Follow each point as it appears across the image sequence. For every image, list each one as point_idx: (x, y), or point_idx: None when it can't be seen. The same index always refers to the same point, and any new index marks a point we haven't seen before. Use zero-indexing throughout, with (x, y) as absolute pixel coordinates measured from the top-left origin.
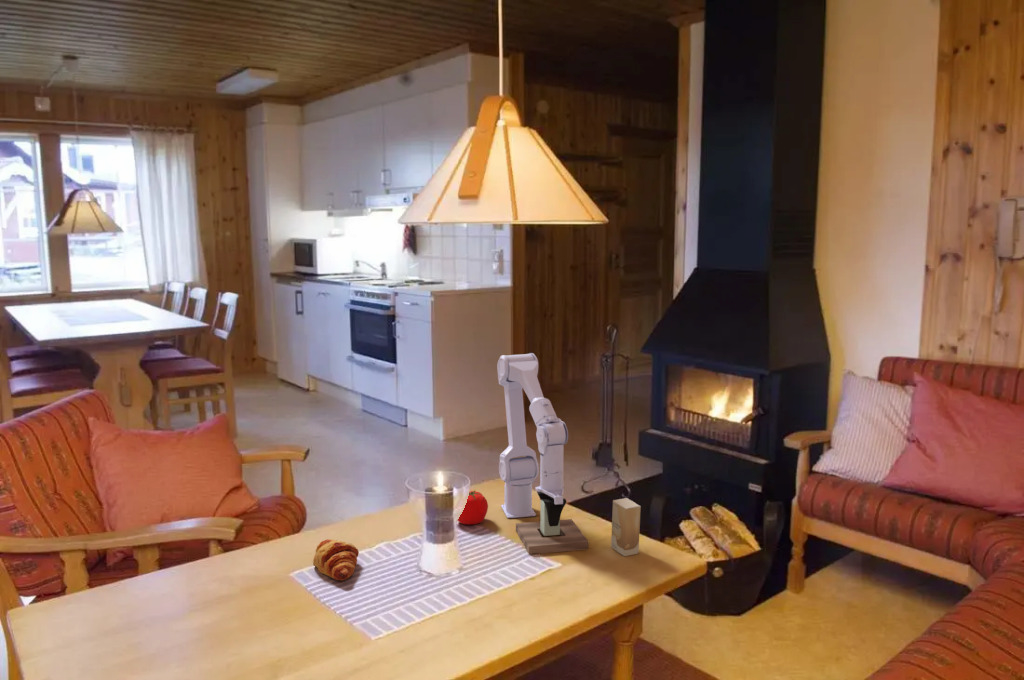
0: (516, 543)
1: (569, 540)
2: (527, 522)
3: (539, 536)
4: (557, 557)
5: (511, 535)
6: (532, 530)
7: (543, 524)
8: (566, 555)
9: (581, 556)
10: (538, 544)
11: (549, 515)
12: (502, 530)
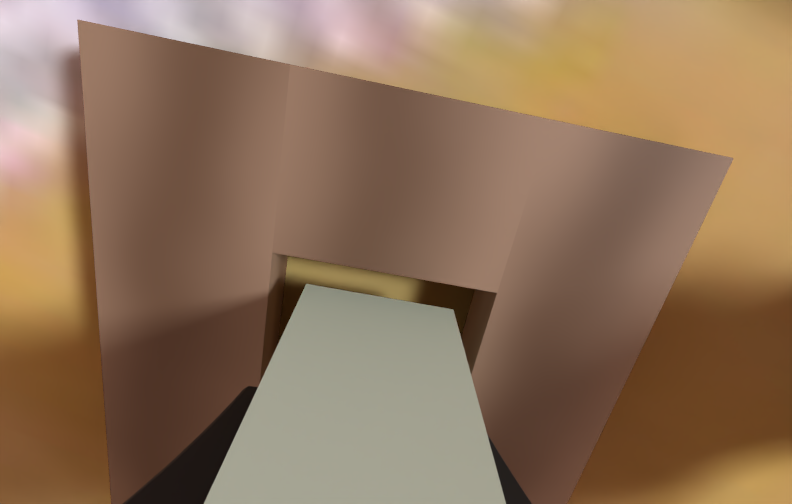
0: (415, 27)
1: (156, 418)
2: (675, 275)
3: (308, 239)
4: (40, 239)
5: (609, 62)
6: (473, 238)
7: (322, 346)
8: (69, 311)
9: (40, 387)
10: (117, 147)
11: (138, 502)
12: (770, 24)
